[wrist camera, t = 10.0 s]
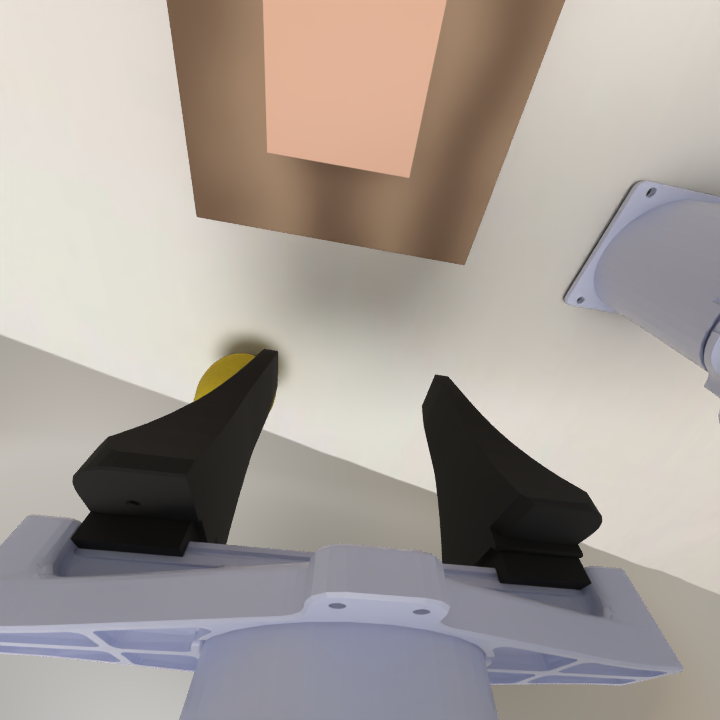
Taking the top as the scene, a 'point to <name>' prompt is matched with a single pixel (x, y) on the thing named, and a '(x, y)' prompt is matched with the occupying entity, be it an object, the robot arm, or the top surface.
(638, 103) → the top surface
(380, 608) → the robot arm
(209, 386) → the lemon
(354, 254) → the top surface
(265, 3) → the cube
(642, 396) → the top surface
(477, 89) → the walnut block
